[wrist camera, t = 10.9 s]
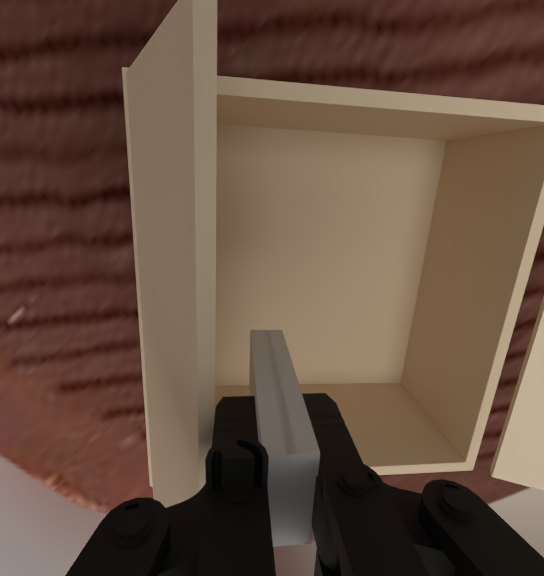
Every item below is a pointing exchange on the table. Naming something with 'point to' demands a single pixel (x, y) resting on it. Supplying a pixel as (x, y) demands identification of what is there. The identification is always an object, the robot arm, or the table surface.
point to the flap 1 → (177, 239)
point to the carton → (374, 254)
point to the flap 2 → (525, 420)
